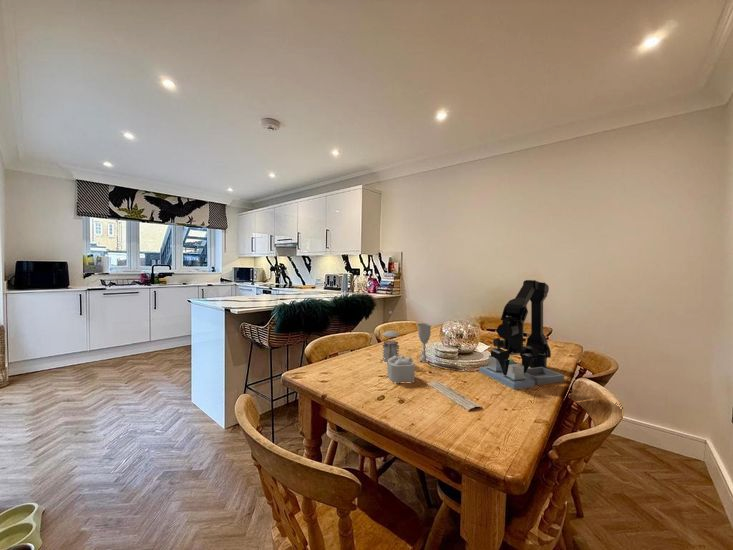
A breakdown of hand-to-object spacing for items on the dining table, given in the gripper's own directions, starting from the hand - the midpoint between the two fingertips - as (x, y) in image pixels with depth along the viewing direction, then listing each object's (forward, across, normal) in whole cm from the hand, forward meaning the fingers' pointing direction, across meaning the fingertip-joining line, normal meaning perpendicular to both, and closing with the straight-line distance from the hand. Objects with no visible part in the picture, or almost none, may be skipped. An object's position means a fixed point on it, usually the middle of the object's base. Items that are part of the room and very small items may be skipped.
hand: (514, 374), depth 120 cm
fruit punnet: (+4, +41, -20) cm, 45 cm away
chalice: (+4, +20, -37) cm, 42 cm away
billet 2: (+4, 0, 0) cm, 4 cm away
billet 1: (+4, 0, -10) cm, 11 cm away
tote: (+4, -14, -1) cm, 15 cm away
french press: (+4, +37, -39) cm, 54 cm away
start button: (+3, -11, -15) cm, 19 cm away
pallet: (+4, 0, -5) cm, 6 cm away
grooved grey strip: (+5, +29, +2) cm, 29 cm away
